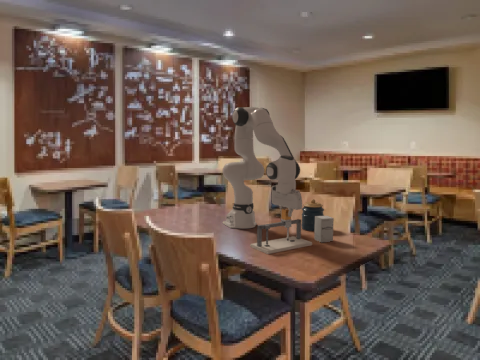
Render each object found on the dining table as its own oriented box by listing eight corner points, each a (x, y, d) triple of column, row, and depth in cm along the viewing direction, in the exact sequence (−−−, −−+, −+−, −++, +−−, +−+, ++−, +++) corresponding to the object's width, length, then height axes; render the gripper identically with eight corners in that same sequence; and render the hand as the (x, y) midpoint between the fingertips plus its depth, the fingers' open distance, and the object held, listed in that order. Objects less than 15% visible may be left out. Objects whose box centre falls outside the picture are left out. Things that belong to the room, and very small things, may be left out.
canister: (324, 231, 226) (325, 201, 224) (301, 231, 228) (301, 200, 226) (323, 226, 239) (323, 197, 237) (301, 225, 241) (301, 197, 239)
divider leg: (280, 239, 201) (281, 209, 199) (286, 238, 203) (286, 208, 201) (285, 241, 198) (286, 210, 196) (291, 240, 200) (291, 209, 198)
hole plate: (250, 247, 195) (250, 223, 194) (293, 238, 211) (294, 217, 209) (267, 254, 184) (267, 229, 182) (312, 245, 199) (312, 222, 198)
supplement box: (320, 242, 203) (320, 218, 202) (313, 239, 210) (314, 215, 209) (333, 241, 205) (334, 217, 204) (326, 238, 212) (327, 215, 211)
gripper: (305, 190, 191) (305, 218, 192) (279, 185, 208) (278, 211, 209) (295, 191, 187) (295, 220, 189) (269, 186, 204) (269, 213, 206)
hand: (286, 215), depth 199 cm, fingers closed on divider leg, 3 cm apart
